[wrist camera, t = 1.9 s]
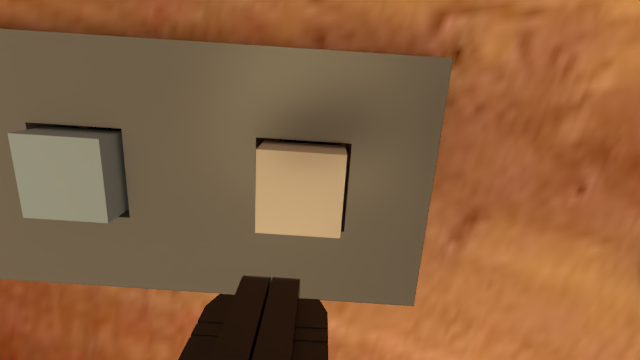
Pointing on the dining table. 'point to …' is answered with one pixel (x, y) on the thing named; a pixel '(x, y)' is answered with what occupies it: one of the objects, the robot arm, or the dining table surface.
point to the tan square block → (300, 188)
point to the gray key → (70, 173)
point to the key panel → (224, 161)
